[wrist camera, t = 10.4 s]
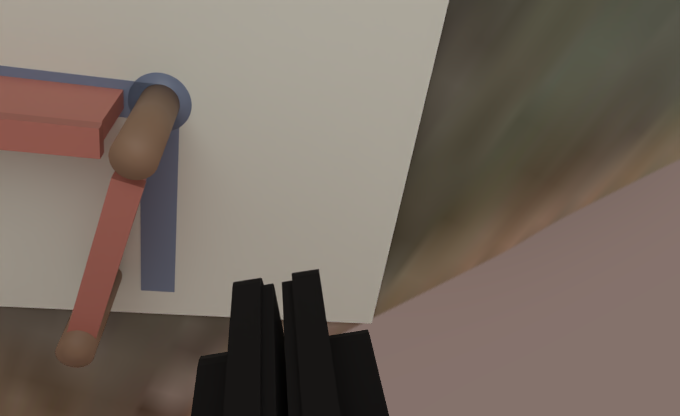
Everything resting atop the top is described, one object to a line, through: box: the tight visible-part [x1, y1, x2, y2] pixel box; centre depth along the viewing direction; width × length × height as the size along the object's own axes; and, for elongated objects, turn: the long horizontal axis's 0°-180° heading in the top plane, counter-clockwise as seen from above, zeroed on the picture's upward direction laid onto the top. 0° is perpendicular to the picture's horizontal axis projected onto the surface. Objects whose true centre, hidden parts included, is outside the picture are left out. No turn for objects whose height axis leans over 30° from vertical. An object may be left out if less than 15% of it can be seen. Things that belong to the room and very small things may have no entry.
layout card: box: [0, 0, 449, 324], centre depth 31 cm, size 28×24×1 cm
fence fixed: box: [0, 76, 180, 180], centre depth 26 cm, size 13×2×7 cm, turn 81°
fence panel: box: [55, 171, 146, 367], centre depth 29 cm, size 11×2×7 cm, turn 156°
